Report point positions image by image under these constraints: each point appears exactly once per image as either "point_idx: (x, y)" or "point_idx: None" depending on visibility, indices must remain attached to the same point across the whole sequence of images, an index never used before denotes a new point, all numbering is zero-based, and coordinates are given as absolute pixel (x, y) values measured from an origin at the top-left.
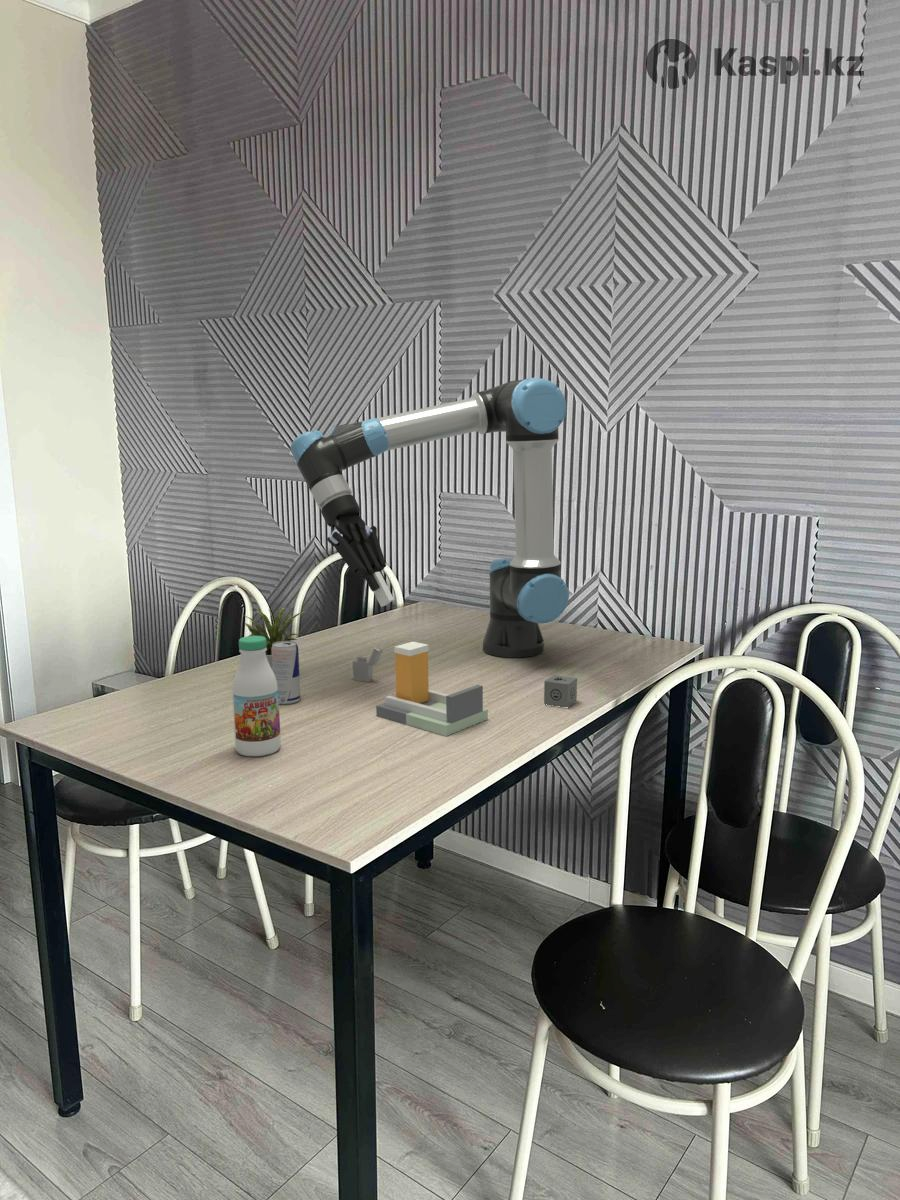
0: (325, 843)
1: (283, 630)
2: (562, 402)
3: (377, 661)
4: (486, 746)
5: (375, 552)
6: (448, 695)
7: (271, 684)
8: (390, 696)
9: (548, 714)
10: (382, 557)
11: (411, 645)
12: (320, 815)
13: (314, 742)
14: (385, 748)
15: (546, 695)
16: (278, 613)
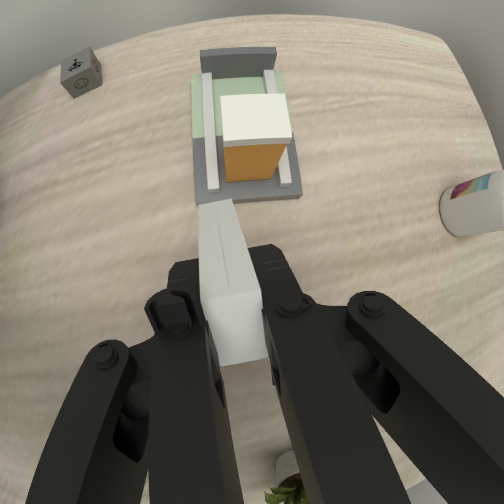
0: (450, 55)
1: (303, 501)
2: None
3: None
4: (265, 39)
5: (100, 495)
6: (273, 52)
7: (502, 170)
8: (283, 178)
9: (130, 60)
10: (71, 414)
11: (253, 117)
12: (446, 74)
13: (410, 181)
14: (357, 105)
15: (97, 76)
16: None
